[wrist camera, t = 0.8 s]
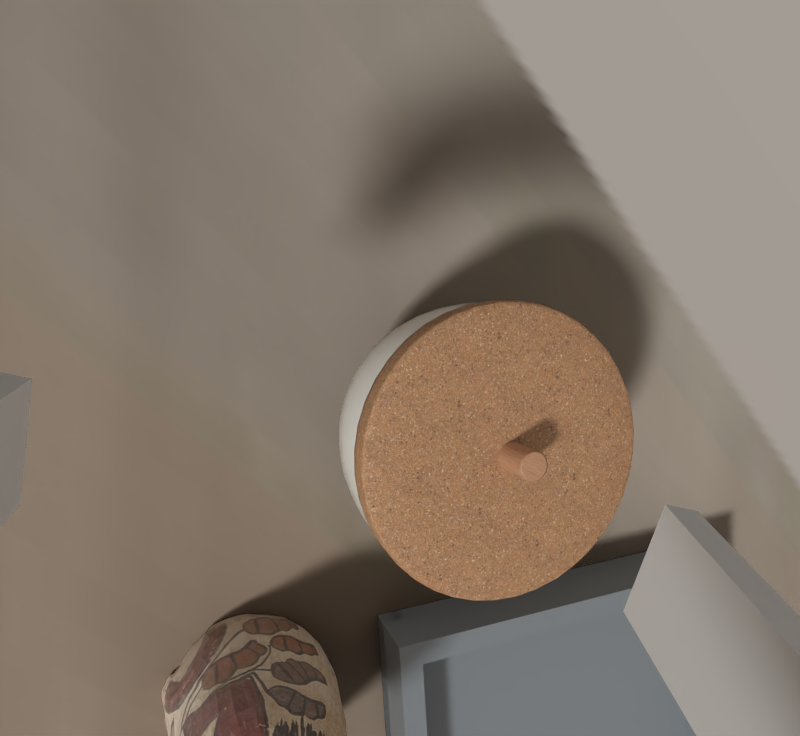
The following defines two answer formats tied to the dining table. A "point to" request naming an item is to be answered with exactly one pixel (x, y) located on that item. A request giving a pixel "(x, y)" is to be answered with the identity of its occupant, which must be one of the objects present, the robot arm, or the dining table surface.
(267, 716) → the figurine
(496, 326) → the lidded jar
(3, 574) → the dining table surface
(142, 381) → the dining table surface
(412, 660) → the tray
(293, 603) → the dining table surface
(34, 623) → the dining table surface
